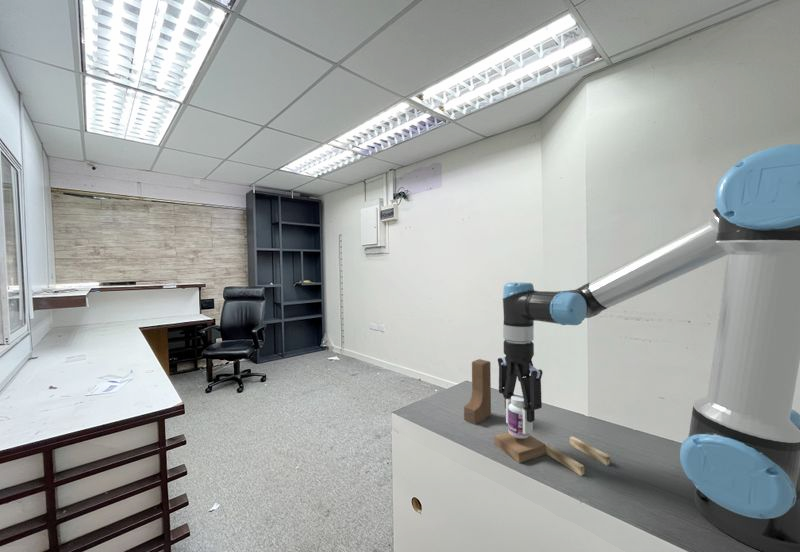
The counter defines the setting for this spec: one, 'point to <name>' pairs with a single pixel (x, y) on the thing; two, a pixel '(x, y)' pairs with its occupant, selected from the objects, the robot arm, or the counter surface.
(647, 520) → the counter surface
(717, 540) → the counter surface
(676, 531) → the counter surface
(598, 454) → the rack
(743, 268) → the robot arm
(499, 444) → the pedestal
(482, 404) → the wooden block
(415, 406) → the counter surface
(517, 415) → the pill bottle
